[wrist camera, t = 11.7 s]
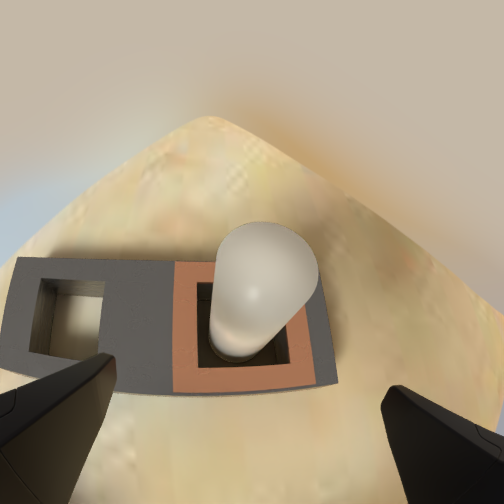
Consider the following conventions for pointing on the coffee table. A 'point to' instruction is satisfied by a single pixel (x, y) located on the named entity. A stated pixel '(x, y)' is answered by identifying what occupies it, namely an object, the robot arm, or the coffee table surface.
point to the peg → (258, 287)
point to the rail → (155, 329)
